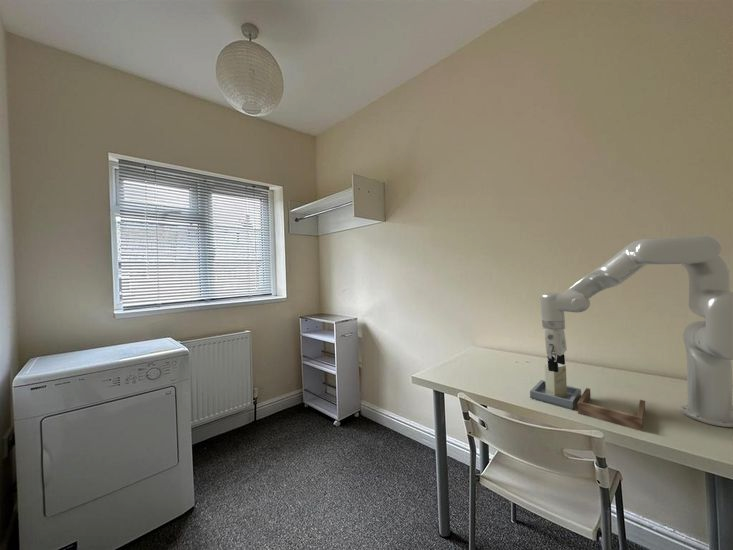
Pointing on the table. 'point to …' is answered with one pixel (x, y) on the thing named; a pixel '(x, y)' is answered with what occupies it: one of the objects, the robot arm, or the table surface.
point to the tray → (564, 402)
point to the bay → (611, 413)
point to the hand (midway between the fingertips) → (556, 367)
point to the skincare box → (556, 381)
